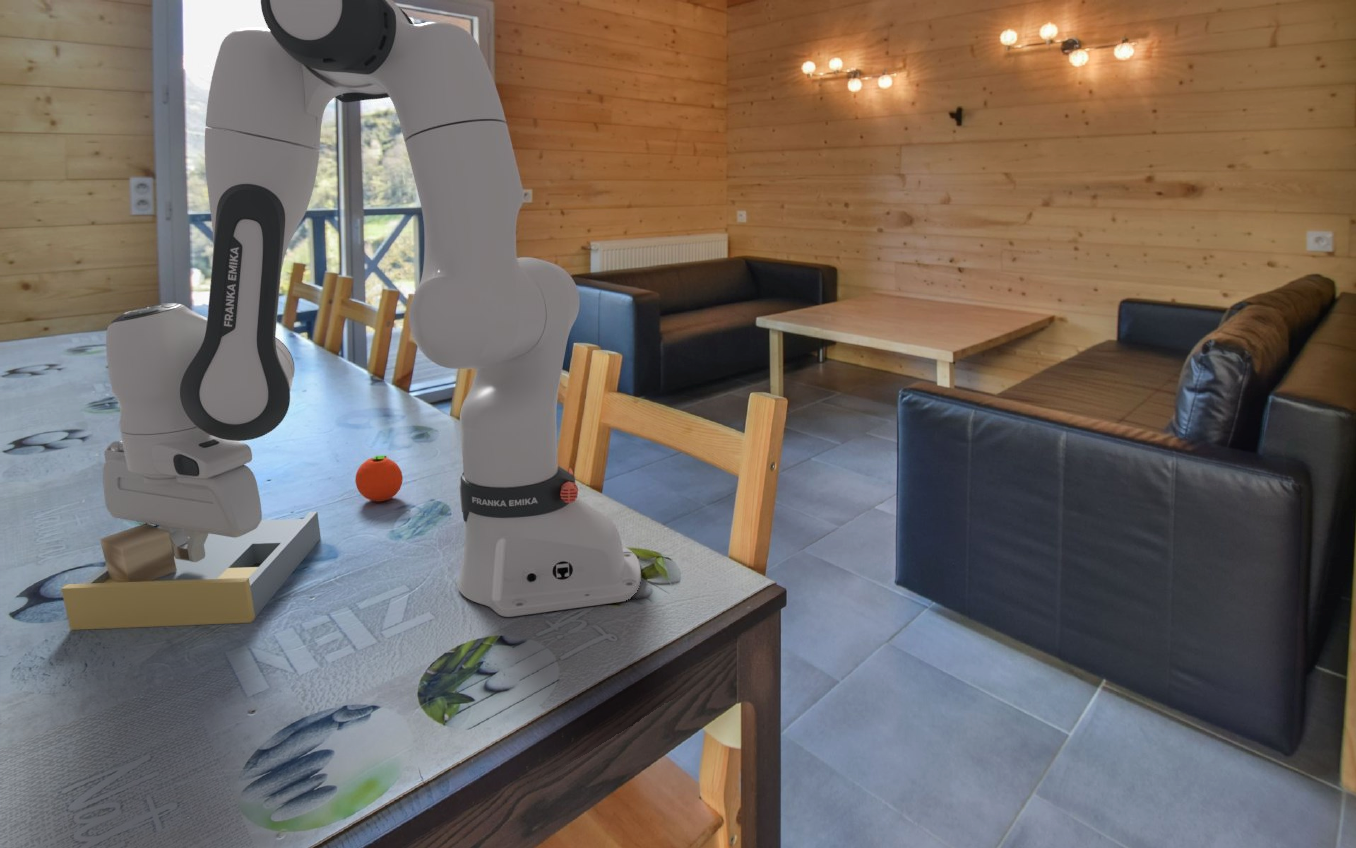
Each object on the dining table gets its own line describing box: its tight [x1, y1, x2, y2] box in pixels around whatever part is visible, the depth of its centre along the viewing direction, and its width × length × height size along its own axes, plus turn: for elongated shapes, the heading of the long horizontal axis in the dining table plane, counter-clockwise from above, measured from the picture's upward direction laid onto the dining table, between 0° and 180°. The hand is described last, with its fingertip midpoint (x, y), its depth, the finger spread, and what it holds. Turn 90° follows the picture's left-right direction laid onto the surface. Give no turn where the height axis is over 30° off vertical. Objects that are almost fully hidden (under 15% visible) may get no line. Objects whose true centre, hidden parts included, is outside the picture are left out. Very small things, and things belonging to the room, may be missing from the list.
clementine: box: [354, 455, 403, 502], centre depth 125 cm, size 8×7×7 cm
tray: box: [61, 511, 322, 631], centre depth 99 cm, size 23×19×5 cm
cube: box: [99, 523, 177, 582], centre depth 93 cm, size 5×5×5 cm
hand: (190, 559), depth 95 cm, fingers closed
